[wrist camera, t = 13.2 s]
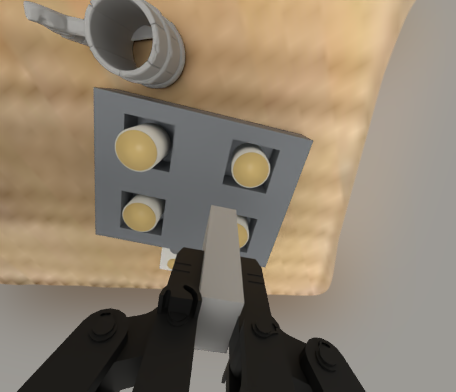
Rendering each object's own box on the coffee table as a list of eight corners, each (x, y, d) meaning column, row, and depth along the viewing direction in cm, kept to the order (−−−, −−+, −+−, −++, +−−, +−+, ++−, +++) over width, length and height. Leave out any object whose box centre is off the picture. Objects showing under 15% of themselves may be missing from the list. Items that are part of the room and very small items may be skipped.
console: (112, 217, 38) (95, 234, 33) (115, 88, 30) (93, 87, 25) (261, 247, 40) (265, 267, 35) (301, 134, 32) (313, 140, 27)
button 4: (228, 171, 33) (227, 183, 28) (235, 139, 31) (236, 146, 26) (259, 178, 33) (263, 191, 29) (269, 147, 32) (275, 155, 27)
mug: (184, 94, 30) (156, 92, 19) (93, 75, 29) (10, 62, 18) (191, 25, 27) (162, -25, 16) (90, 2, 26) (-14, -67, 15)
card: (160, 266, 42) (159, 269, 41) (164, 235, 39) (163, 238, 38) (212, 276, 42) (212, 279, 42) (220, 246, 40) (220, 249, 39)
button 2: (132, 155, 30) (113, 167, 25) (134, 118, 28) (114, 123, 23) (168, 163, 30) (156, 176, 25) (172, 127, 28) (160, 134, 23)
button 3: (214, 227, 37) (212, 246, 32) (220, 202, 35) (219, 218, 30) (242, 233, 37) (244, 253, 33) (250, 208, 36) (253, 225, 31)
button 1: (135, 211, 36) (121, 228, 31) (137, 184, 34) (122, 198, 29) (165, 217, 36) (155, 235, 32) (168, 191, 35) (158, 206, 30)
